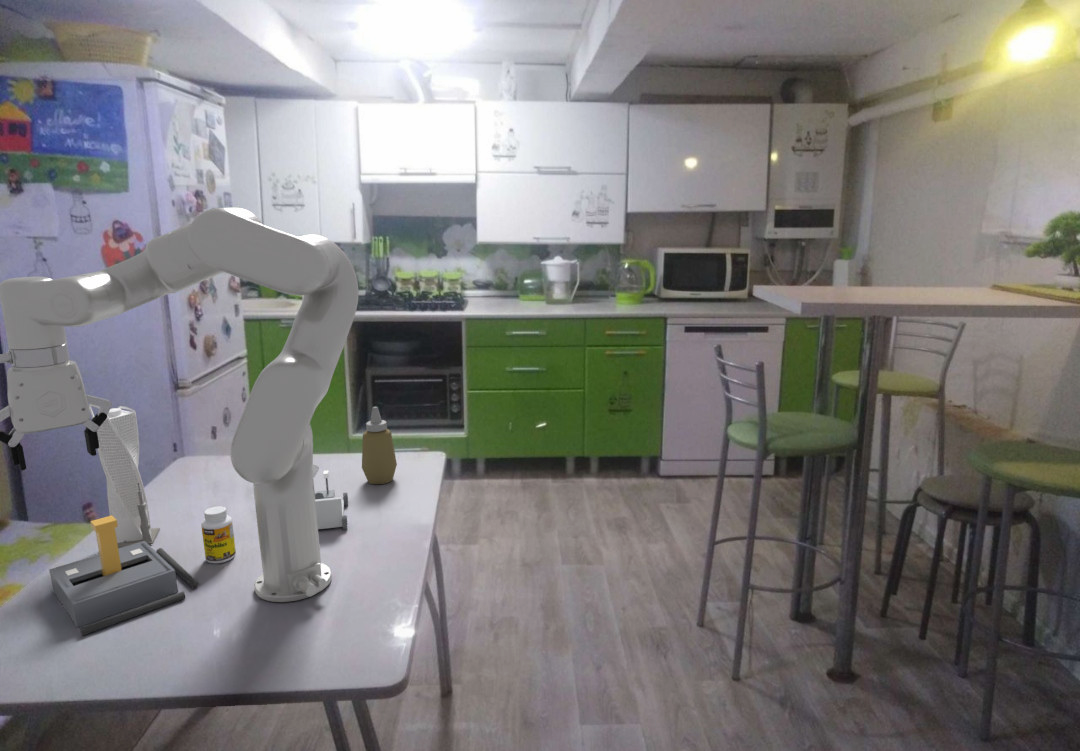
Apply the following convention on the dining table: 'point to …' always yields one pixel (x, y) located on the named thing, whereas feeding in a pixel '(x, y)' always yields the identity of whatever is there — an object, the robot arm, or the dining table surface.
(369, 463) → the squeeze bottle
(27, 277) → the robot arm
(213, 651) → the dining table surface
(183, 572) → the dark grey rod
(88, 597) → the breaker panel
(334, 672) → the dining table surface
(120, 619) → the grey thin bar
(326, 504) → the toy rover
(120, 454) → the skyscraper
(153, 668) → the dining table surface
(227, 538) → the supplement bottle
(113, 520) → the breaker lever
